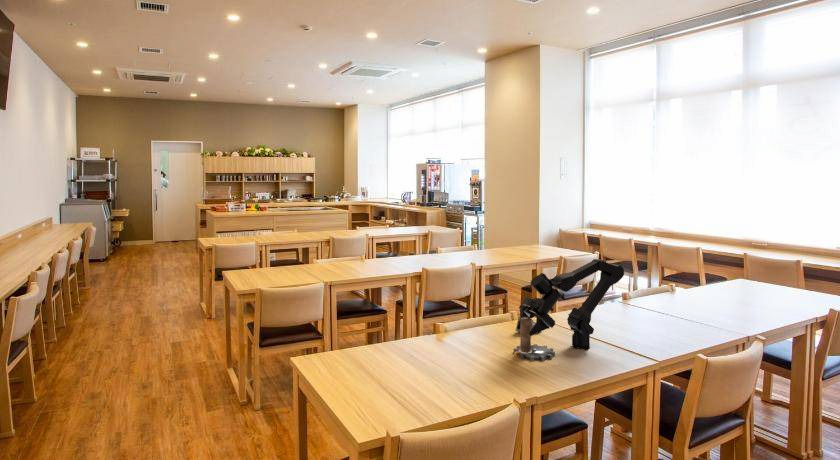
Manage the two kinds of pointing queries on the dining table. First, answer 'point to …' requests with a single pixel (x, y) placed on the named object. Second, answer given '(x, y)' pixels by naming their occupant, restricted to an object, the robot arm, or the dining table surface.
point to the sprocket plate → (535, 353)
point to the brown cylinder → (525, 334)
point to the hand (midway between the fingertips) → (523, 331)
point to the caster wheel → (531, 324)
